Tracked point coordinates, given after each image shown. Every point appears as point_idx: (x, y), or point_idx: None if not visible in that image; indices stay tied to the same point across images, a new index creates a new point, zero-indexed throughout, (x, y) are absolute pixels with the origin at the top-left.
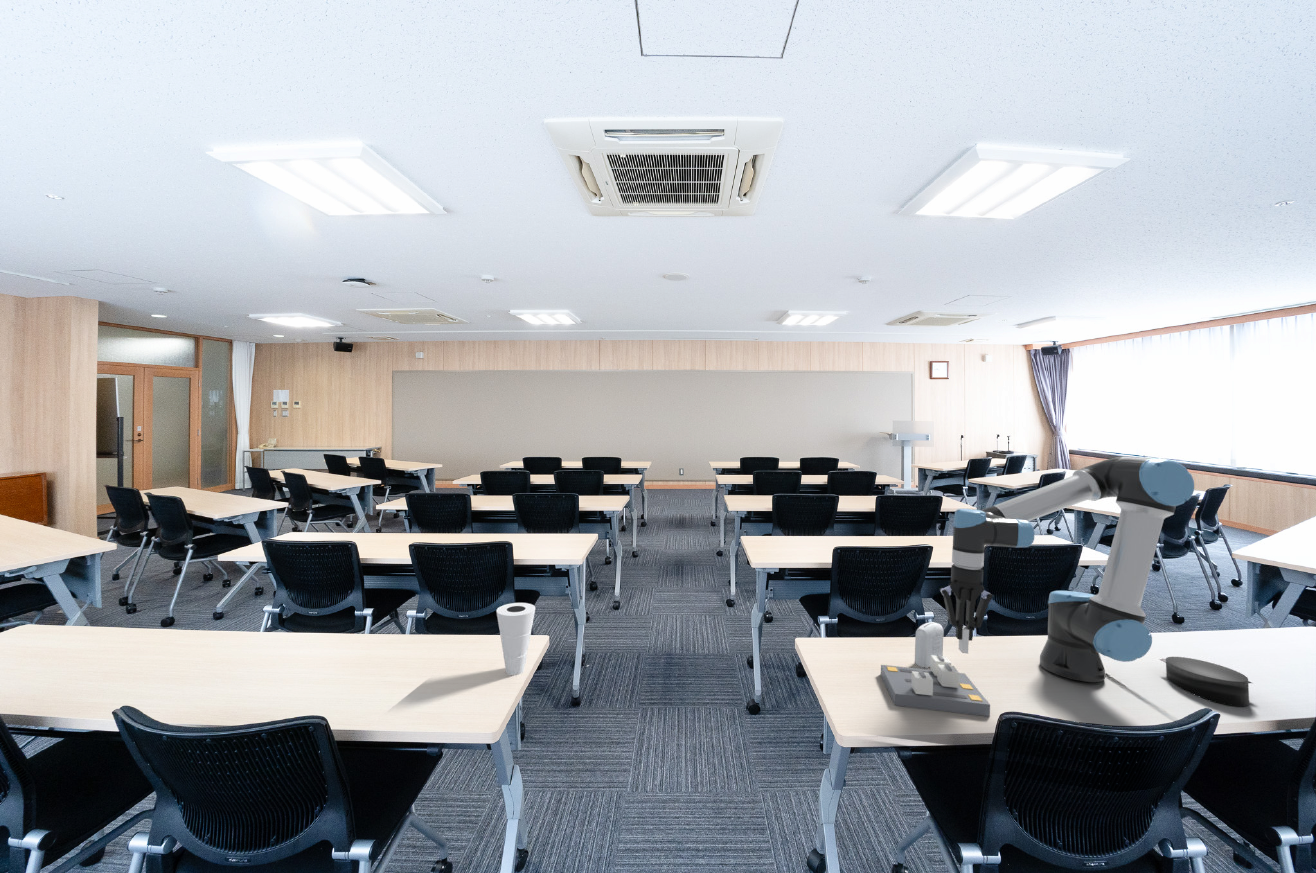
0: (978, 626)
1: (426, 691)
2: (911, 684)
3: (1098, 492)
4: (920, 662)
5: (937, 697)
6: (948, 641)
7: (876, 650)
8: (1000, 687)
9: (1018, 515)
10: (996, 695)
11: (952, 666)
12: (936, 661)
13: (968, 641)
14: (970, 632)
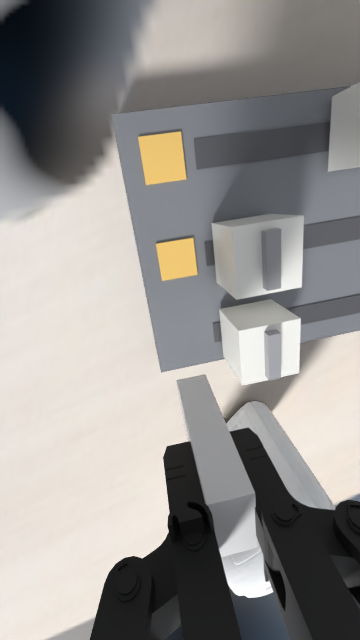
0: (130, 572)
1: None
2: None
3: None
4: (267, 411)
5: (309, 103)
6: None
7: (344, 449)
8: (52, 379)
9: None
10: (70, 316)
11: (242, 293)
12: (295, 318)
13: (188, 426)
14: (184, 496)
